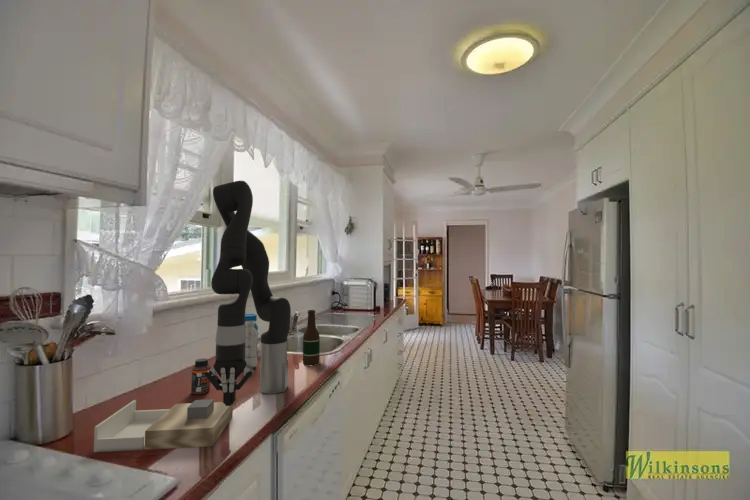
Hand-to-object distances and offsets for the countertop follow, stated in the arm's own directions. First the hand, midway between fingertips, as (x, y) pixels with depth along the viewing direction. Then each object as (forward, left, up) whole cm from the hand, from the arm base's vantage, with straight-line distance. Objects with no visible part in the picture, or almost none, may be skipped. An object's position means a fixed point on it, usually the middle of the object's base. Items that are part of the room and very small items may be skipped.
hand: (229, 404), depth 94 cm
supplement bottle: (+18, -29, -7) cm, 35 cm away
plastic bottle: (+8, -55, -7) cm, 56 cm away
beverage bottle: (+13, -74, -7) cm, 76 cm away
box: (+23, 0, -7) cm, 24 cm away
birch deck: (+9, 0, -7) cm, 12 cm away
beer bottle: (-18, -59, -7) cm, 62 cm away
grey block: (+7, 0, -2) cm, 8 cm away
